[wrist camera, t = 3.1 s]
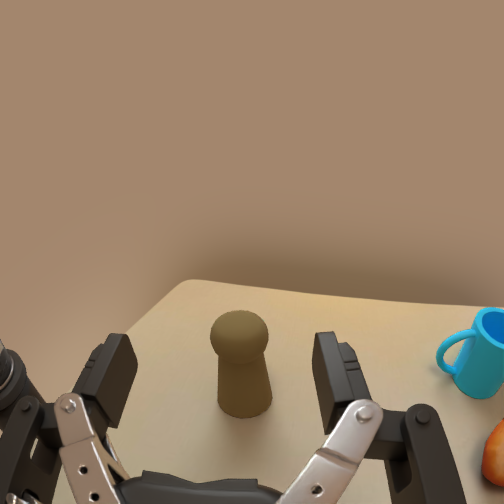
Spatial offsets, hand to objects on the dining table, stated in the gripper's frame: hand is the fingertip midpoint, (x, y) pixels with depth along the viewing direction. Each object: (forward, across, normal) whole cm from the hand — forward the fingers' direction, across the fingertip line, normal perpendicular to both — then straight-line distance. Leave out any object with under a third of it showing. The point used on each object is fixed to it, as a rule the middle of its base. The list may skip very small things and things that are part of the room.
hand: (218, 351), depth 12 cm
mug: (+9, -28, +19) cm, 35 cm away
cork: (+11, 0, +19) cm, 22 cm away
